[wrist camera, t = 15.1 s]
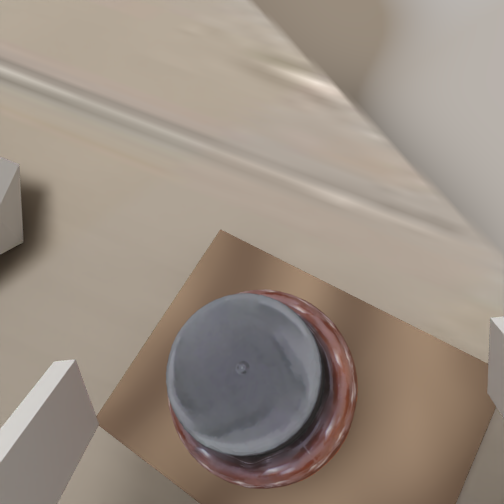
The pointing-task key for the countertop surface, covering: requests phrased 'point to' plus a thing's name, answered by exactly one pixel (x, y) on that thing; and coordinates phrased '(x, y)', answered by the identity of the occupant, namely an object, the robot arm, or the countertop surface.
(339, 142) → the countertop surface
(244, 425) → the supplement bottle
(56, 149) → the countertop surface
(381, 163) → the countertop surface
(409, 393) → the walnut board
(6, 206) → the die
